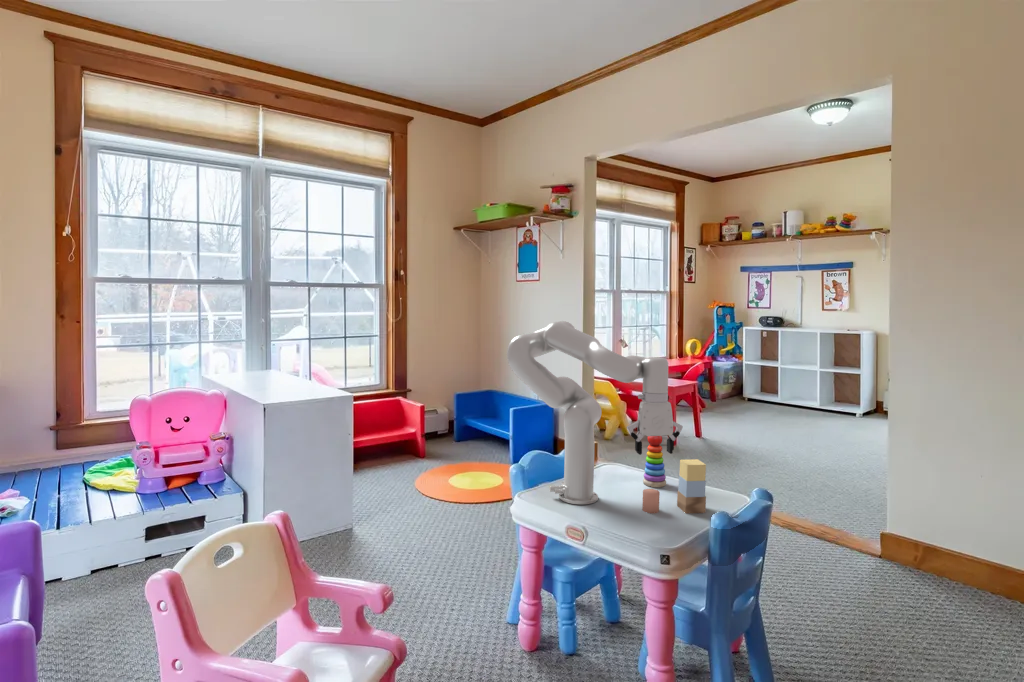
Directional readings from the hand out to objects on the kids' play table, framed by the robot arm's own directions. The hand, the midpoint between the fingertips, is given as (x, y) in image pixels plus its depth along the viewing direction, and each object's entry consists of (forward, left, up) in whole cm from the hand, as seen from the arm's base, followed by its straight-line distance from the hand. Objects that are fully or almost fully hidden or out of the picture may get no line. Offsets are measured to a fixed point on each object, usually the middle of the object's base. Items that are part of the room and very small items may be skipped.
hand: (654, 453), depth 180 cm
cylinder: (-1, -1, -18) cm, 18 cm away
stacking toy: (+9, +23, -18) cm, 31 cm away
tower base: (+12, -1, -18) cm, 22 cm away
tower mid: (+12, -1, -13) cm, 18 cm away
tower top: (+12, -1, -8) cm, 14 cm away
